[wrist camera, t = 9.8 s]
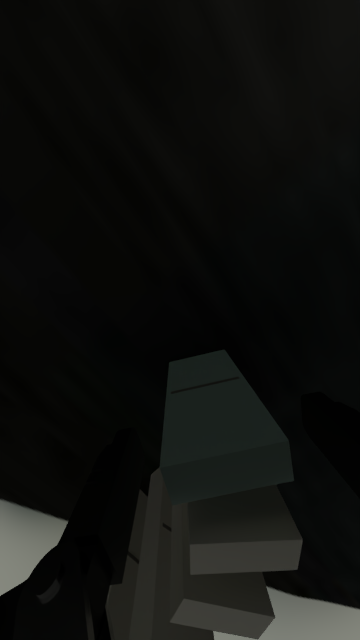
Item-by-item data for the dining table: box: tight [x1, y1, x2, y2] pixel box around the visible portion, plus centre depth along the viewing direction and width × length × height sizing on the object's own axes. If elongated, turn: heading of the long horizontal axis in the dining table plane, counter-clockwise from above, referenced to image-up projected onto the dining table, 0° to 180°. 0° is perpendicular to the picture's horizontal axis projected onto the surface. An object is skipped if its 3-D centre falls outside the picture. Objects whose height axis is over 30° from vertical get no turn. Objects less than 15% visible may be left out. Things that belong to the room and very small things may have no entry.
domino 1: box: [107, 490, 148, 640], centre depth 15 cm, size 2×5×9 cm, turn 35°
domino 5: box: [170, 503, 275, 639], centre depth 13 cm, size 2×5×9 cm, turn 69°
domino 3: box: [160, 350, 294, 505], centre depth 11 cm, size 2×5×9 cm, turn 104°
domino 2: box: [129, 467, 214, 640], centre depth 14 cm, size 2×5×9 cm, turn 46°
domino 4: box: [187, 484, 303, 575], centre depth 12 cm, size 2×5×9 cm, turn 91°
